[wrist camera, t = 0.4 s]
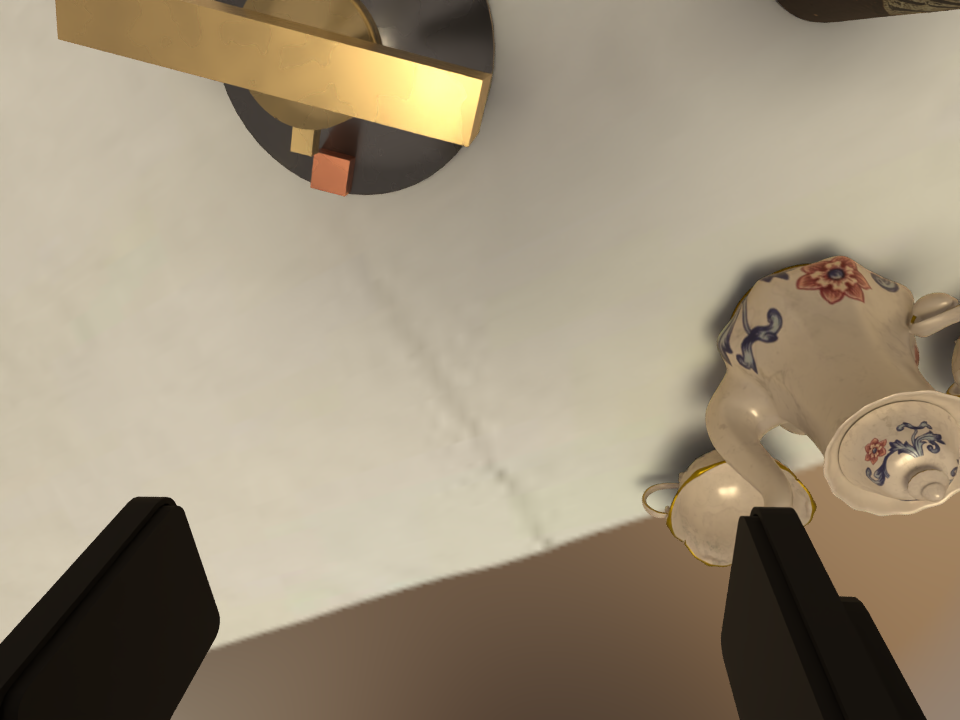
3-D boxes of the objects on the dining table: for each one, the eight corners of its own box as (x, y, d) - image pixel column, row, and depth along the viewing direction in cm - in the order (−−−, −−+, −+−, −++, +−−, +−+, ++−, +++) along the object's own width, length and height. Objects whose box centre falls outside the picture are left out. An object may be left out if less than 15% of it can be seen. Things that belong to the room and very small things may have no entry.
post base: (227, -156, 31) (161, -195, 26) (527, -75, 32) (521, -98, 26) (215, 155, 38) (160, 174, 33) (461, 218, 38) (446, 249, 33)
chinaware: (697, 529, 49) (776, 757, 35) (557, 395, 43) (584, 605, 29) (1095, 307, 39) (1439, 504, 25) (983, 90, 33) (1351, 183, 19)
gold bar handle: (145, -105, 27) (46, -138, 22) (513, -6, 27) (503, -16, 22) (147, 107, 31) (63, 123, 26) (468, 191, 31) (451, 224, 26)
